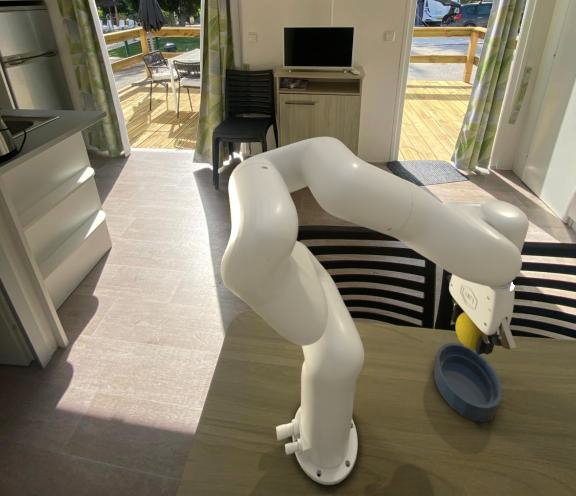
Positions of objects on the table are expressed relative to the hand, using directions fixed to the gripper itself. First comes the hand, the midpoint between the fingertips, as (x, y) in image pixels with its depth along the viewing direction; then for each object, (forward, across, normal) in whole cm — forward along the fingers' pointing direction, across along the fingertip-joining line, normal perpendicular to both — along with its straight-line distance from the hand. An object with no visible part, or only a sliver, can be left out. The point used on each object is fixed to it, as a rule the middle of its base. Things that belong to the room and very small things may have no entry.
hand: (470, 334), depth 60 cm
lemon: (+3, 0, 0) cm, 3 cm away
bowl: (+17, 0, +2) cm, 17 cm away
